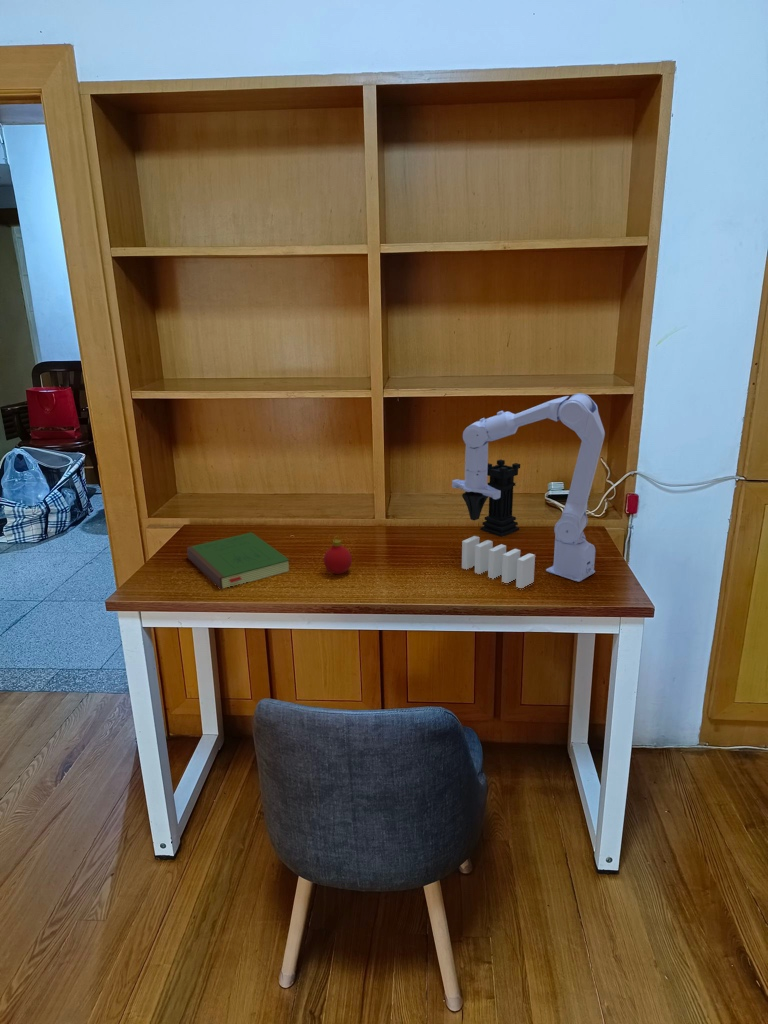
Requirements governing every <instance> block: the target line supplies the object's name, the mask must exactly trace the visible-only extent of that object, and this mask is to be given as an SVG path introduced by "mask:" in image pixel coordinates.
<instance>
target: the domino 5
mask: <svg viewBox="0 0 768 1024" xmlns="http://www.w3.org/2000/svg"><path fill="white" fill-rule="evenodd" d="M535 559H536V554H533V553H530V552H529V553H527V554H525V555H523V556H520V558H519V559H517V577H516V580H515V588H516V587H518V588H524V587H525V586H527V585H529V584H531V583H533V582H534V581H535V580H534V579H535V567H536V565H535V562H536V560H535ZM533 584H534V583H533ZM531 585H532V584H531ZM529 586H530V585H529ZM518 588H517V589H518ZM524 589H525V588H524Z"/></svg>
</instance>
